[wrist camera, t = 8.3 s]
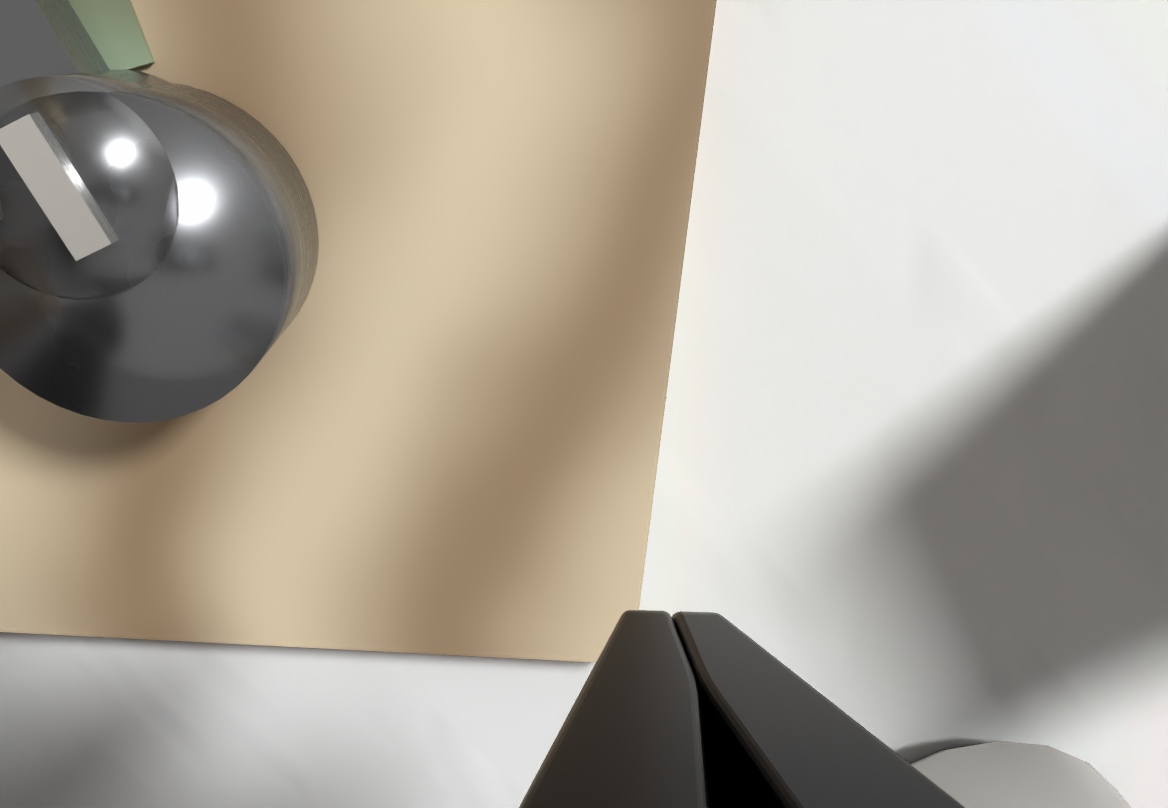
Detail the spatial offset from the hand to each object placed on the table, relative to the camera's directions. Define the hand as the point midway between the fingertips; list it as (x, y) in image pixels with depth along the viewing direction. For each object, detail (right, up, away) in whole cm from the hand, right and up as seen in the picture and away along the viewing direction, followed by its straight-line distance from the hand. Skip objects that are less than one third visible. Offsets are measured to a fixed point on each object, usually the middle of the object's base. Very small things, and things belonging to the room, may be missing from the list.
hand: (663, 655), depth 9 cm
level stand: (-8, +6, +10) cm, 14 cm away
